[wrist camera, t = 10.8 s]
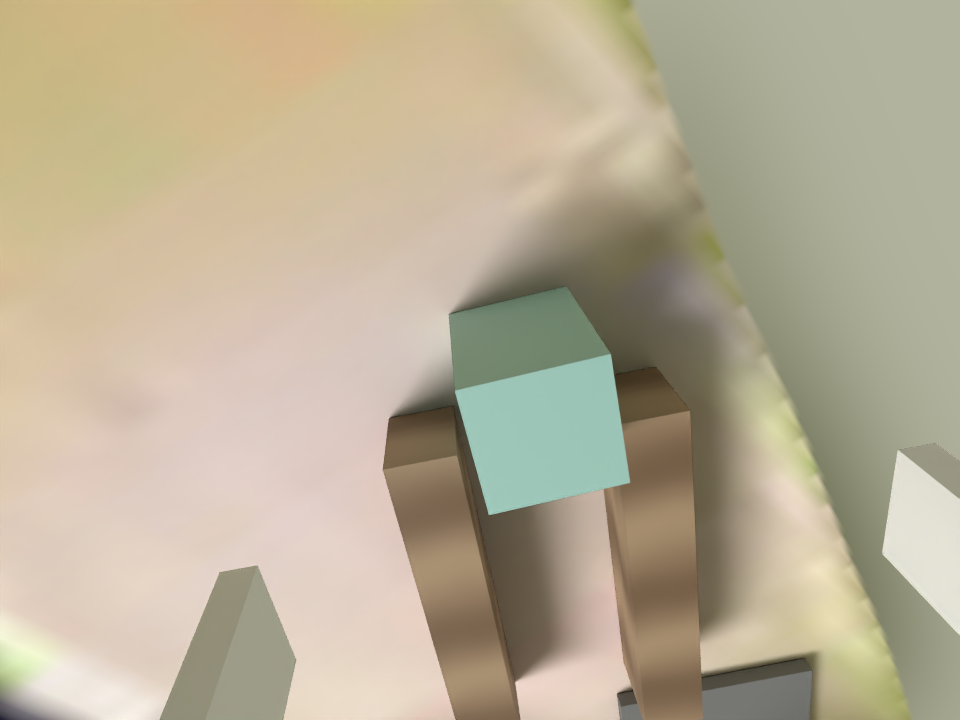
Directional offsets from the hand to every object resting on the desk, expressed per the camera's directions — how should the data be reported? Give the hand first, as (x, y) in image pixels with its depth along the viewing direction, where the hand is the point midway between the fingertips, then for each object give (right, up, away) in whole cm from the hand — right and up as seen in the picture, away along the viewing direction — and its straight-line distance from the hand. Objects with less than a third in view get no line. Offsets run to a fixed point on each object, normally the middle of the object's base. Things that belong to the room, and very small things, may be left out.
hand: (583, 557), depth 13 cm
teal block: (0, +4, +14) cm, 15 cm away
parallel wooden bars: (+1, -5, +18) cm, 19 cm away
